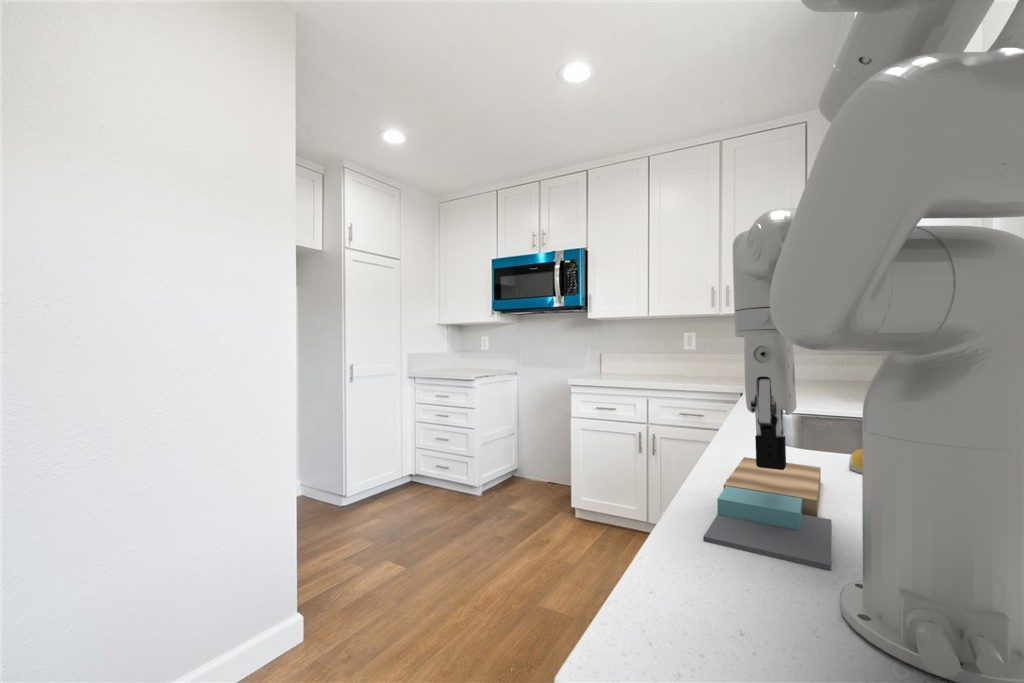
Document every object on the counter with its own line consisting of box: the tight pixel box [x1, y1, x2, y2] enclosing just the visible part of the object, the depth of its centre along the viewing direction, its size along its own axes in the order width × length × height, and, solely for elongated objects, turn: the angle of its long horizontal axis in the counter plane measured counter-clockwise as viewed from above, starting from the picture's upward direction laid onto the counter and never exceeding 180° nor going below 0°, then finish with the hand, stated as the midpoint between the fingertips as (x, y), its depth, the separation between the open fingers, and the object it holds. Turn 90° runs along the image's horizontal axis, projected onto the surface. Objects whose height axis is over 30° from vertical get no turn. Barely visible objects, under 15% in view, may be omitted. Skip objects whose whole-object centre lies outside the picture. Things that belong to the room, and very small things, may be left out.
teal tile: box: [716, 486, 802, 530], centre depth 59 cm, size 6×9×2 cm, turn 55°
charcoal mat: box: [702, 514, 832, 571], centre depth 55 cm, size 14×12×1 cm
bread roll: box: [848, 448, 862, 475], centre depth 79 cm, size 8×9×4 cm
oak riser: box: [723, 457, 822, 517], centre depth 69 cm, size 18×11×2 cm, turn 145°
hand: (771, 467), depth 59 cm, fingers closed
